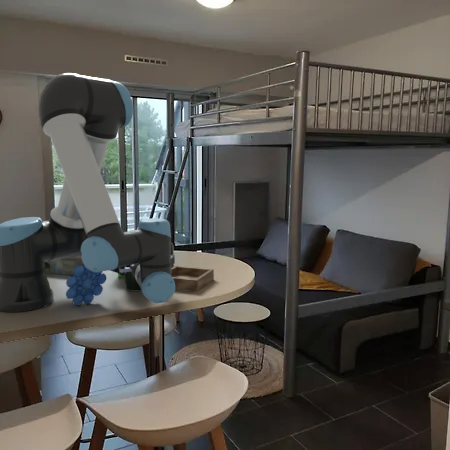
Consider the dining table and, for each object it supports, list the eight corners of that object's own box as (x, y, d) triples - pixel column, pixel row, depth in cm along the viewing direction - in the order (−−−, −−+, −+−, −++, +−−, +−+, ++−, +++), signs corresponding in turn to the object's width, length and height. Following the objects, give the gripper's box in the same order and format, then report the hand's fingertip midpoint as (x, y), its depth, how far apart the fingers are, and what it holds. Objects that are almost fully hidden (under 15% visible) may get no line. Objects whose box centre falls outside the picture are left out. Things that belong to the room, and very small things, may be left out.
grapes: (100, 295, 126) (98, 255, 124) (111, 301, 121) (109, 259, 119) (60, 304, 118) (58, 262, 117) (70, 311, 114) (68, 266, 112)
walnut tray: (156, 287, 135) (155, 276, 134) (175, 275, 148) (175, 265, 147) (197, 291, 130) (196, 280, 130) (213, 279, 143) (213, 269, 143)
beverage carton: (57, 267, 159) (56, 250, 158) (101, 272, 153) (100, 254, 152) (41, 272, 152) (40, 254, 151) (86, 278, 146) (86, 259, 145)
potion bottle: (141, 282, 139) (139, 228, 137) (155, 288, 133) (154, 231, 131) (118, 287, 134) (116, 230, 131) (132, 293, 128) (130, 234, 125)
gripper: (100, 291, 110) (95, 271, 129) (194, 282, 118) (176, 264, 138) (99, 263, 109) (94, 247, 128) (194, 255, 117) (175, 241, 137)
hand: (136, 256), depth 133 cm, fingers open, 13 cm apart
